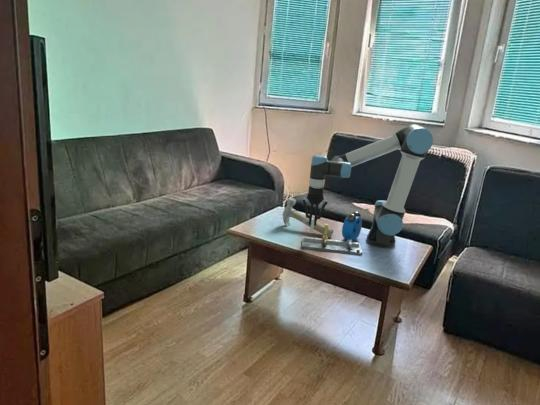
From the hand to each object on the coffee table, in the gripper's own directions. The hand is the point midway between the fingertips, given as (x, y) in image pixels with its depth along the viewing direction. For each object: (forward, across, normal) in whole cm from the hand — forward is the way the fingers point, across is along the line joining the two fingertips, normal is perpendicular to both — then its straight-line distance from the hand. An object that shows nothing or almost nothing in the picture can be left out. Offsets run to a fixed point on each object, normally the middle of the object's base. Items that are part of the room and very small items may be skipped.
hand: (311, 231), depth 227 cm
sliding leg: (+5, -7, +2) cm, 9 cm away
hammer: (+7, +2, -18) cm, 20 cm away
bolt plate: (+7, -11, +3) cm, 13 cm away
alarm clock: (+7, -22, -12) cm, 26 cm away
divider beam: (+6, -11, +2) cm, 12 cm away
